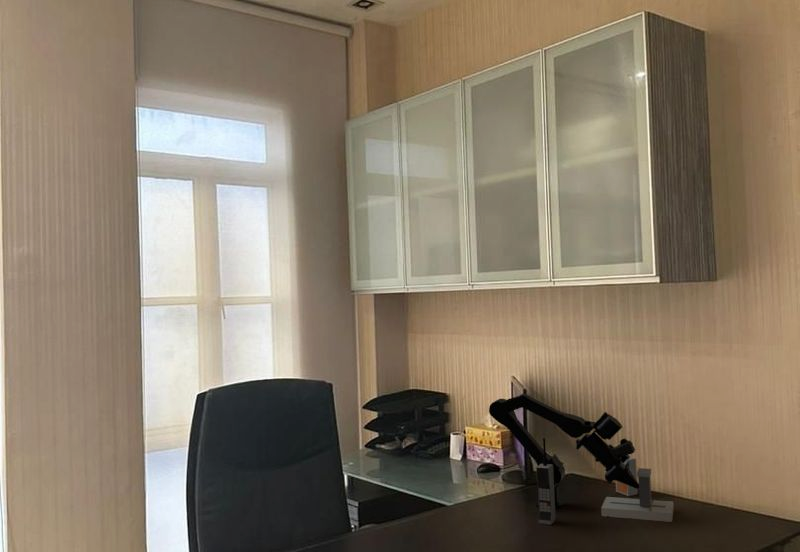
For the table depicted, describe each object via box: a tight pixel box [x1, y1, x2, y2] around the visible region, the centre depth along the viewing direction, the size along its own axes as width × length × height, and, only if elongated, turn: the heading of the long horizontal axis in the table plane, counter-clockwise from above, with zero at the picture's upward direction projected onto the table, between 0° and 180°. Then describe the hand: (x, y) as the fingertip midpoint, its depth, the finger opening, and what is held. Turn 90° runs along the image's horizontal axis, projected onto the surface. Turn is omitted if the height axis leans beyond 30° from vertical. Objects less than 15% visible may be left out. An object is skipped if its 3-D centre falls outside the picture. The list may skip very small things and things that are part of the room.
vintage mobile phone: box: [535, 437, 556, 526], centre depth 212 cm, size 4×5×25 cm
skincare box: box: [615, 456, 639, 497], centre depth 237 cm, size 6×4×12 cm
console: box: [600, 496, 675, 523], centre depth 216 cm, size 20×12×3 cm, turn 67°
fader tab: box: [636, 467, 652, 507], centre depth 216 cm, size 4×6×10 cm, turn 157°
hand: (638, 487), depth 216 cm, fingers closed, pressing on fader tab
